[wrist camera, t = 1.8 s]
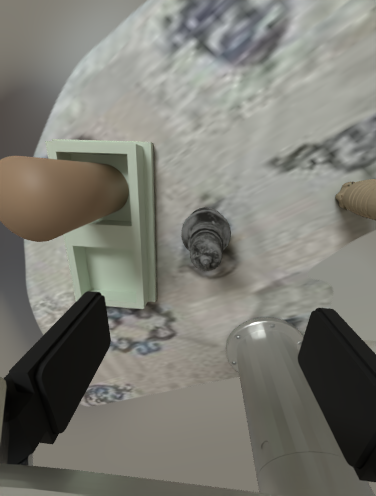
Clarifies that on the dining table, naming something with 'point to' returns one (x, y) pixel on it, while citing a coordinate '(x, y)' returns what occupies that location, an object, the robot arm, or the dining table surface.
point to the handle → (359, 198)
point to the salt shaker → (206, 237)
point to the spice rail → (117, 233)
